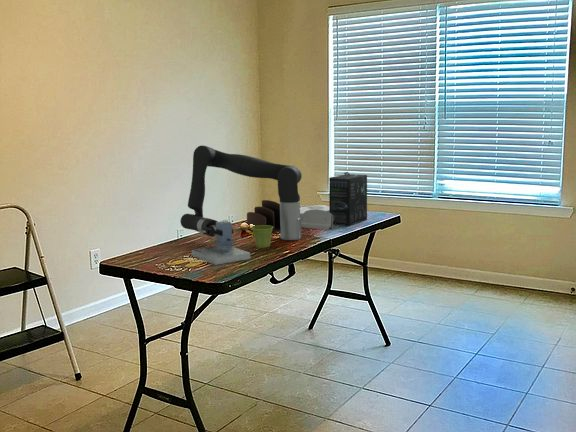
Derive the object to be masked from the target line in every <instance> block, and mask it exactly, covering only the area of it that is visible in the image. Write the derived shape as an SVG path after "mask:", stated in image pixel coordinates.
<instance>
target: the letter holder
mask: <svg viewBox="0 0 576 432" xmlns="http://www.w3.org/2000/svg"><path fill="white" fill-rule="evenodd" d="M253 211H254V212H253ZM253 211H248V212H247V214H246V225H247V224H253V225H255V226H258V225H269V226H273V229H272V233H271V234H273V233H280V202H279V203H278V202H277V201H273V200H269V199H268V200H267V199H263V200H262V201H261V206H254V209H253Z"/></svg>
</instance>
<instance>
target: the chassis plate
mask: <svg viewBox="0 0 576 432" xmlns="http://www.w3.org/2000/svg"><path fill="white" fill-rule="evenodd" d="M191 256H192V257H194V258H197V259H200V260H201V261H204V262H207V263H209V264H211V265H214V266H218V265H222V264H223V265H224V264H229V263H234V262H235V263H236V262H239V261H240V262H242V261H245V260H246V261H247V260H251V252H249V251H246V250H242V249H241V248H238V247H234V246H233V245H232V246H229V245H226V244H225V245H219V246H217V245H214V246H207V247H201V248H195V249H191Z"/></svg>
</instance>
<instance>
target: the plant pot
mask: <svg viewBox="0 0 576 432" xmlns="http://www.w3.org/2000/svg"><path fill="white" fill-rule="evenodd" d="M272 229H273V226H269V225H258V226H253V227H252V229H251V230H252V232H253V237H254V241H255V247H256V248H258V249H265V248H270V247H271V240H272V234H273V233H272Z"/></svg>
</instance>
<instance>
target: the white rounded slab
mask: <svg viewBox="0 0 576 432" xmlns="http://www.w3.org/2000/svg"><path fill="white" fill-rule="evenodd" d="M314 209H318V210H324V211H327V212H329V206H328V205H324V204H319V205H308V206H300V217H301V222H302V219H303V215H304V212H305V211H308V210H314Z"/></svg>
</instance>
